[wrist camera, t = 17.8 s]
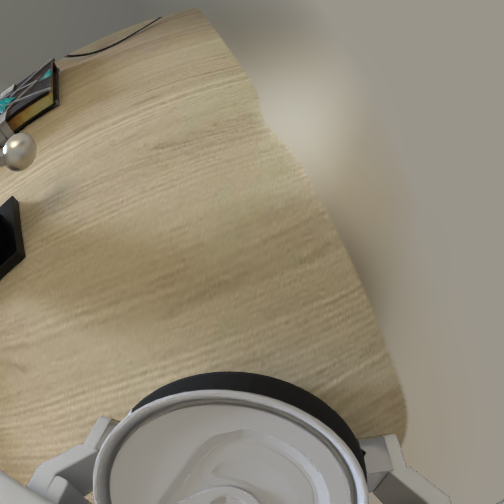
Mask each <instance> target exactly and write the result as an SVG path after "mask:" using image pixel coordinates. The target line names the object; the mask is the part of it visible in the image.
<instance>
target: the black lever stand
mask: <svg viewBox="0 0 504 504" xmlns="http://www.w3.org/2000/svg"><path fill="white" fill-rule="evenodd" d="M23 258H25V253H24V247H23V240H22V233H21V225H20V215H19V204H18V201H17V200H16V199H15V198H14V197H13V196H12V197H10V198H9V199H8V200H7V201H6V202H5V203H4V204H3V205H2V206H1V207H0V279H1V278H2V277H3V276H4V275H6V274H7V273H8V272H9V271H10V270H11V269H12V268H13V267H14V266H15V265H17V264H18V263H19V262H20V261H21V260H22V259H23Z"/></svg>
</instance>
